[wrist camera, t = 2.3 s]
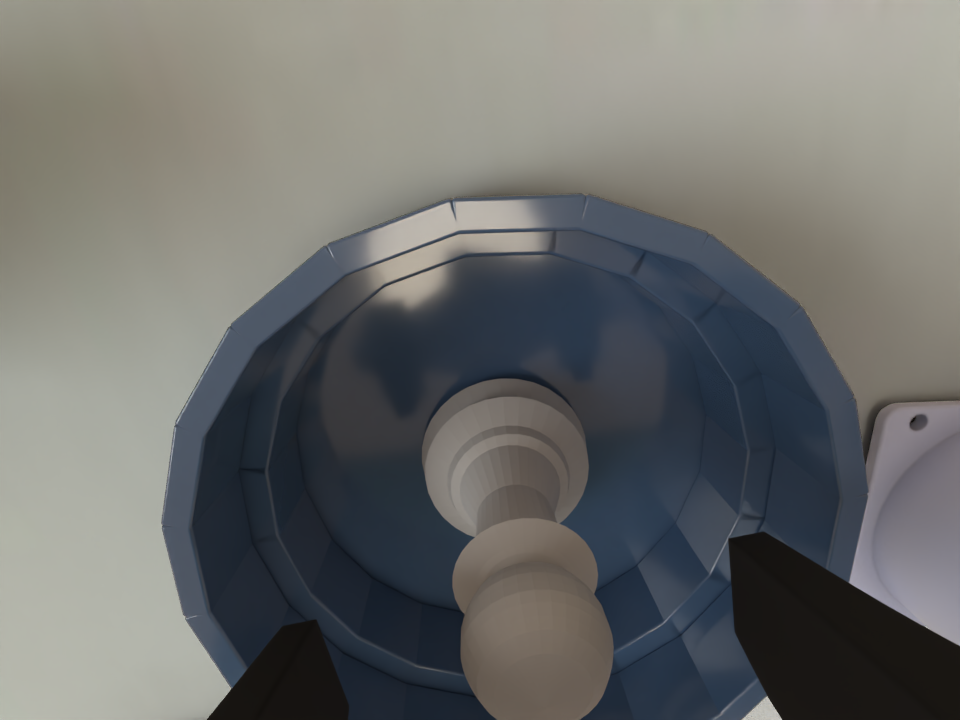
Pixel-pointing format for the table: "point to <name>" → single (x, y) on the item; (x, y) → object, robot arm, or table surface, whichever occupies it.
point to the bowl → (531, 357)
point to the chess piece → (520, 549)
